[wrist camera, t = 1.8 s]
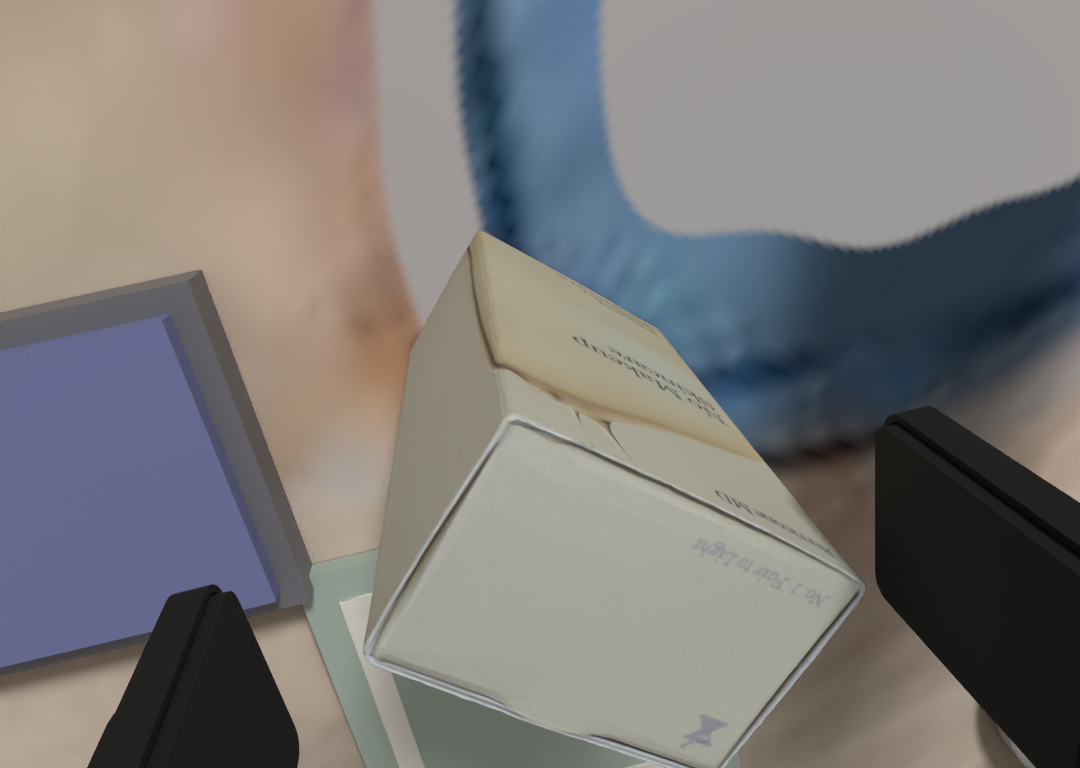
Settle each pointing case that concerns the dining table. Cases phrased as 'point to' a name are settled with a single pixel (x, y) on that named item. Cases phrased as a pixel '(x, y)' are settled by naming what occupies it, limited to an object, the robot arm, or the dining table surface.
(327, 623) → the marked board
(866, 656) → the dining table surface
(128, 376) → the ink pad
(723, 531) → the skincare box
